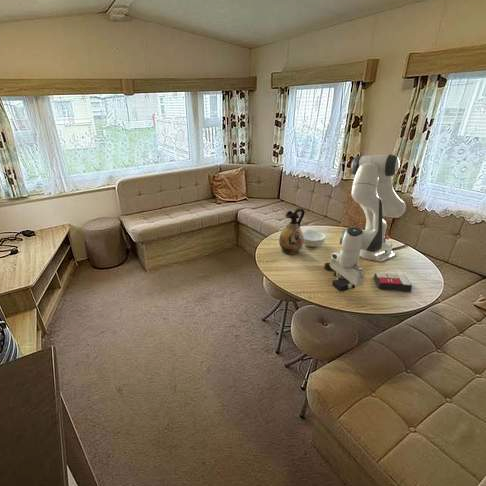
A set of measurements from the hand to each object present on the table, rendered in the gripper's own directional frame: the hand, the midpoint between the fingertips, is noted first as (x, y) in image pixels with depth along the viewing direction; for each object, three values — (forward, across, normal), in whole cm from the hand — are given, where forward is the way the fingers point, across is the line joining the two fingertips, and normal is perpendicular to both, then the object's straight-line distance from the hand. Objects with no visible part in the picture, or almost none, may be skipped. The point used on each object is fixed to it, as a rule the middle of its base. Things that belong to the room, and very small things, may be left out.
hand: (343, 283), depth 150 cm
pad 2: (+2, 0, -2) cm, 3 cm away
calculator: (+7, -2, -30) cm, 31 cm away
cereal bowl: (+7, +54, -20) cm, 58 cm away
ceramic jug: (+7, +50, -2) cm, 50 cm away
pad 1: (+7, +19, -16) cm, 25 cm away
